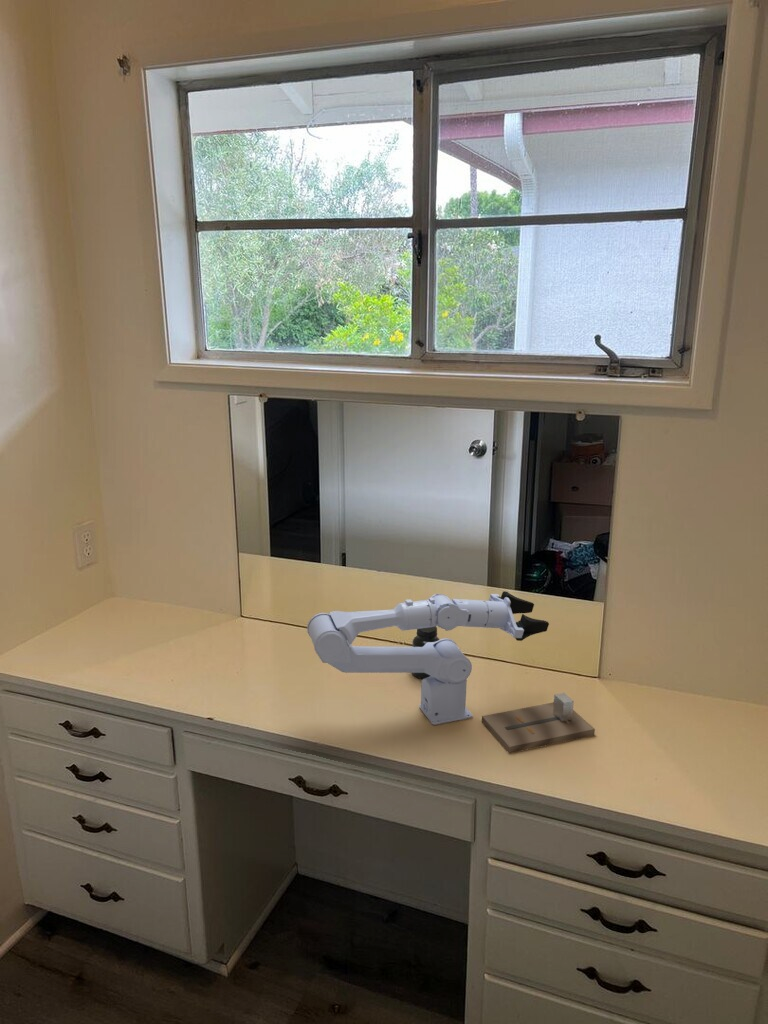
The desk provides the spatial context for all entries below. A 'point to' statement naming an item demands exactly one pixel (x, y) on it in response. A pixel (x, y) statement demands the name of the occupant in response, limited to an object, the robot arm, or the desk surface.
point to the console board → (534, 727)
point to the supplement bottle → (421, 639)
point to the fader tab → (563, 707)
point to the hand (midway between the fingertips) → (539, 616)
